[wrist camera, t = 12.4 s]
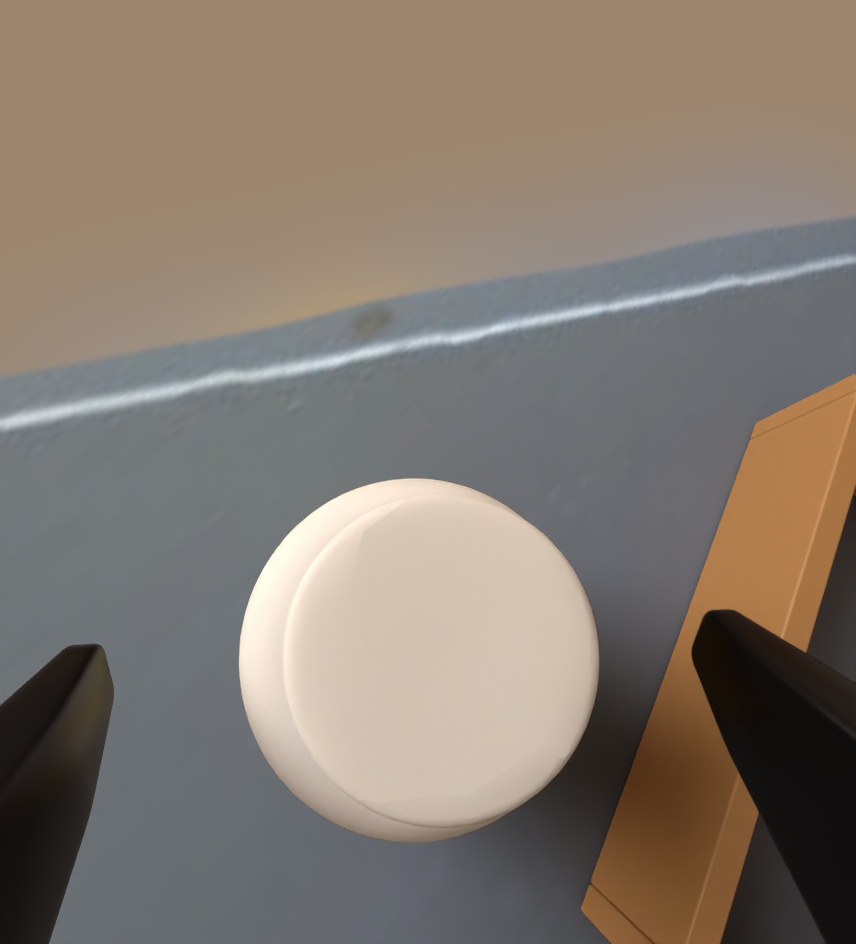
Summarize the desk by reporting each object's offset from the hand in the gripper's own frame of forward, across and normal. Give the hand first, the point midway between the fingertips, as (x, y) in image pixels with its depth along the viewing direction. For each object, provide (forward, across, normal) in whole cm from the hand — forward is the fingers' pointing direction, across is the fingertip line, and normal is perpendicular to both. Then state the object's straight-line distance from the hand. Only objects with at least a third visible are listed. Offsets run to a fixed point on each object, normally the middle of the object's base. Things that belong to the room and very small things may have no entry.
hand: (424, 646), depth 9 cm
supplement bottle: (+6, 0, +6) cm, 8 cm away
